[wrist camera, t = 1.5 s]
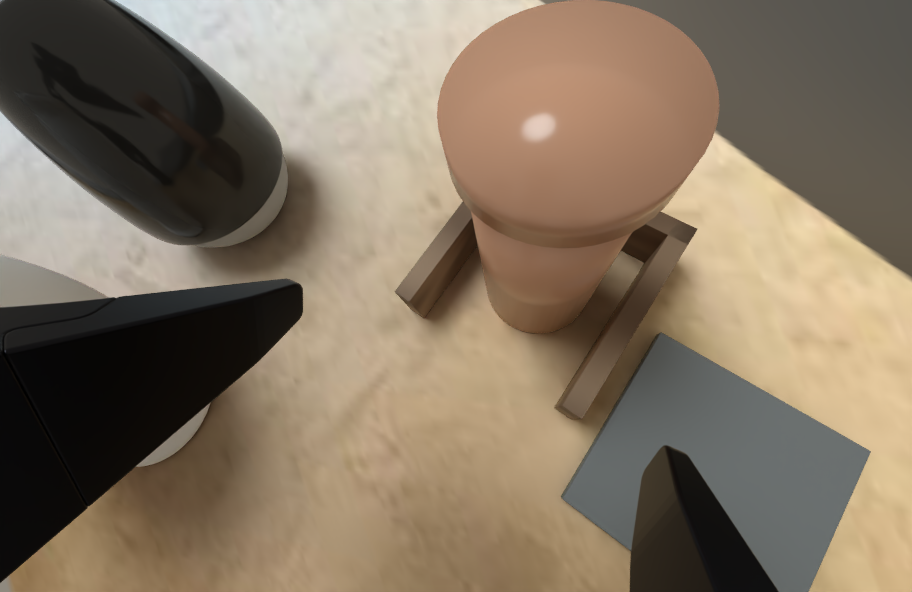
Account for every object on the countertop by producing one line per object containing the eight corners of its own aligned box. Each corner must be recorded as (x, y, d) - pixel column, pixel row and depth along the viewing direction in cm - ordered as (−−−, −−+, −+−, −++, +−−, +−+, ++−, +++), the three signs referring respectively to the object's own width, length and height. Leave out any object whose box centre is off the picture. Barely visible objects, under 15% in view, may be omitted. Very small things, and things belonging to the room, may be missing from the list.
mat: (767, 653, 16) (776, 661, 16) (560, 496, 19) (562, 498, 19) (859, 450, 18) (870, 451, 17) (657, 334, 21) (661, 332, 20)
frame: (570, 419, 20) (581, 418, 17) (411, 309, 23) (394, 291, 20) (670, 257, 22) (697, 229, 19) (510, 176, 25) (509, 140, 22)
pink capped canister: (556, 363, 21) (629, 271, 8) (458, 300, 23) (386, 142, 10) (618, 267, 22) (769, 49, 9) (519, 215, 24) (527, -27, 11)
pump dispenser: (202, 146, 30) (-78, -101, 16) (324, 144, 28) (132, -135, 14) (160, 265, 27) (-233, 93, 13) (293, 271, 25) (11, 80, 11)
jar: (66, 373, 25) (-487, 315, 11) (198, 284, 26) (-171, 126, 12) (107, 523, 22) (-620, 711, 8) (258, 416, 23) (-162, 412, 9)
